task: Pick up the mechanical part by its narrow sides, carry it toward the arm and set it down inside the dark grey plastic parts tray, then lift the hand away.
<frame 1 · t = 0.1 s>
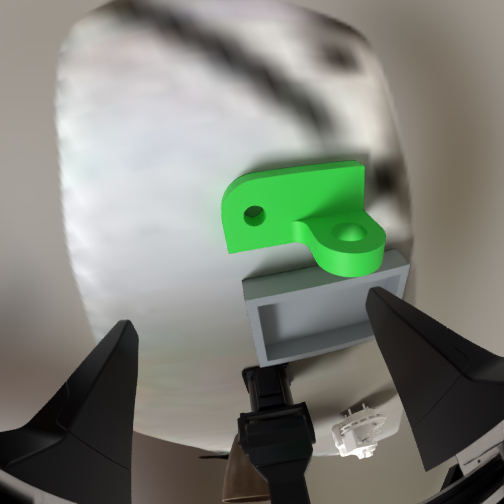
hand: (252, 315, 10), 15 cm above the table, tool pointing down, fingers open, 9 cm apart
plant pot: (251, 434, 51), on the table
mechanical part: (290, 199, 24), on the table
parts tray: (324, 303, 30), on the table
mechanical part 2: (353, 410, 51), on the table
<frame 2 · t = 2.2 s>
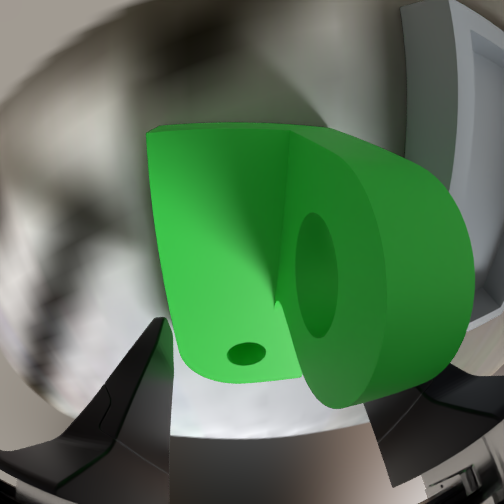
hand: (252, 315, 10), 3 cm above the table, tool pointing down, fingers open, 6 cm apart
mechanical part: (242, 265, 12), on the table, touching gripper
parts tray: (472, 189, 11), on the table
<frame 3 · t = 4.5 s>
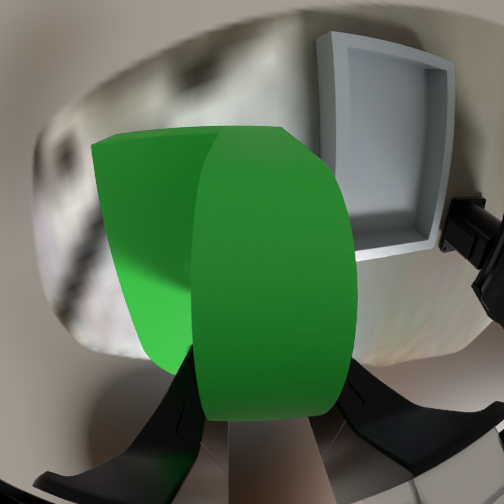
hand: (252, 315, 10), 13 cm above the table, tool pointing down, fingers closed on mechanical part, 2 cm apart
mechanical part: (202, 266, 12), point 9 cm above the table, touching gripper
parts tray: (382, 147, 19), on the table
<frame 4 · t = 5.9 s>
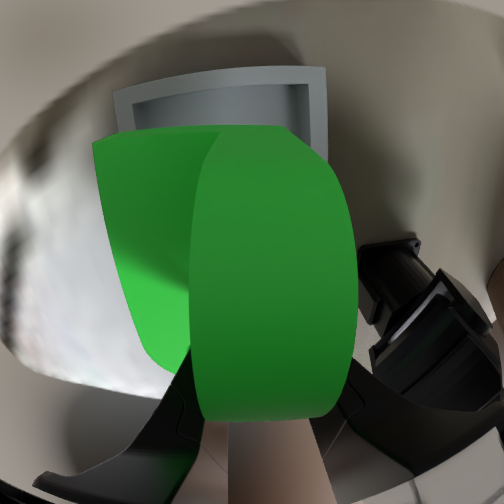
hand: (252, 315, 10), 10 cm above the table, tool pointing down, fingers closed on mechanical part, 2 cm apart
plant pot: (500, 274, 28), on the table
mechanical part: (203, 266, 12), point 7 cm above the table, touching gripper
parts tray: (231, 202, 18), on the table
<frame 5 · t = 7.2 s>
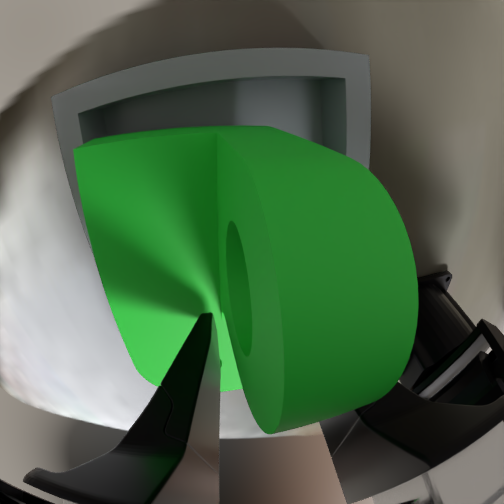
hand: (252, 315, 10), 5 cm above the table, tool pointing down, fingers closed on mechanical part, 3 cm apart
mechanical part: (190, 275, 11), point 3 cm above the table, touching gripper, parts tray
parts tray: (229, 241, 14), on the table
when the fingers open (5 cm above the table, at t = 7.7 s): mechanical part stays where it is, resting on parts tray.
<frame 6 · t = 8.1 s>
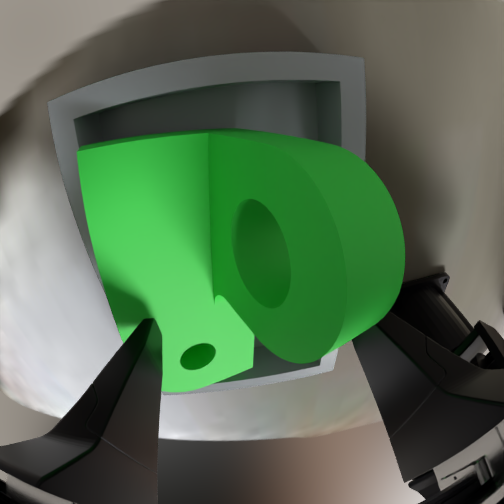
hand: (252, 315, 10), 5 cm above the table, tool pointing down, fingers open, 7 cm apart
mechanical part: (173, 272, 12), point 2 cm above the table, touching gripper, parts tray
parts tray: (225, 245, 14), on the table
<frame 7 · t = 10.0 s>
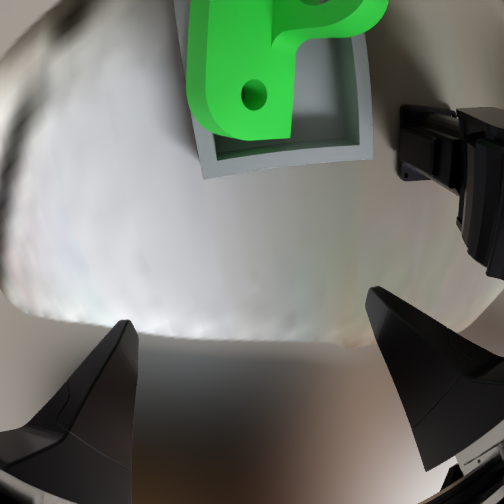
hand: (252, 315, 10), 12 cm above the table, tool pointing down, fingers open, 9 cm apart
mechanical part: (232, 42, 13), point 2 cm above the table, touching parts tray
parts tray: (269, 40, 14), on the table
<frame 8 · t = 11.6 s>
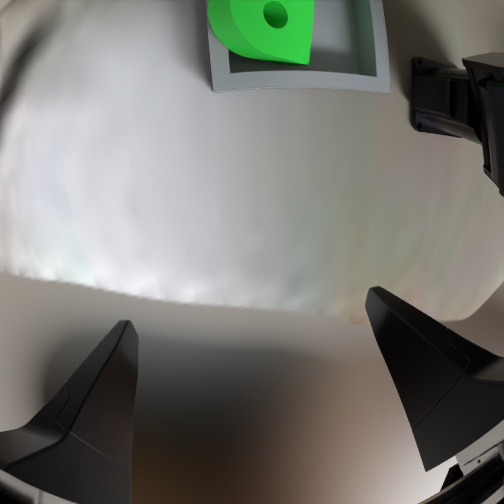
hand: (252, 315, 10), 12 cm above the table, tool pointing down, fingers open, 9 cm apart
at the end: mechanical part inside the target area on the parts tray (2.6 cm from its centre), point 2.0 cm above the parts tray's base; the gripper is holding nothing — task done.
